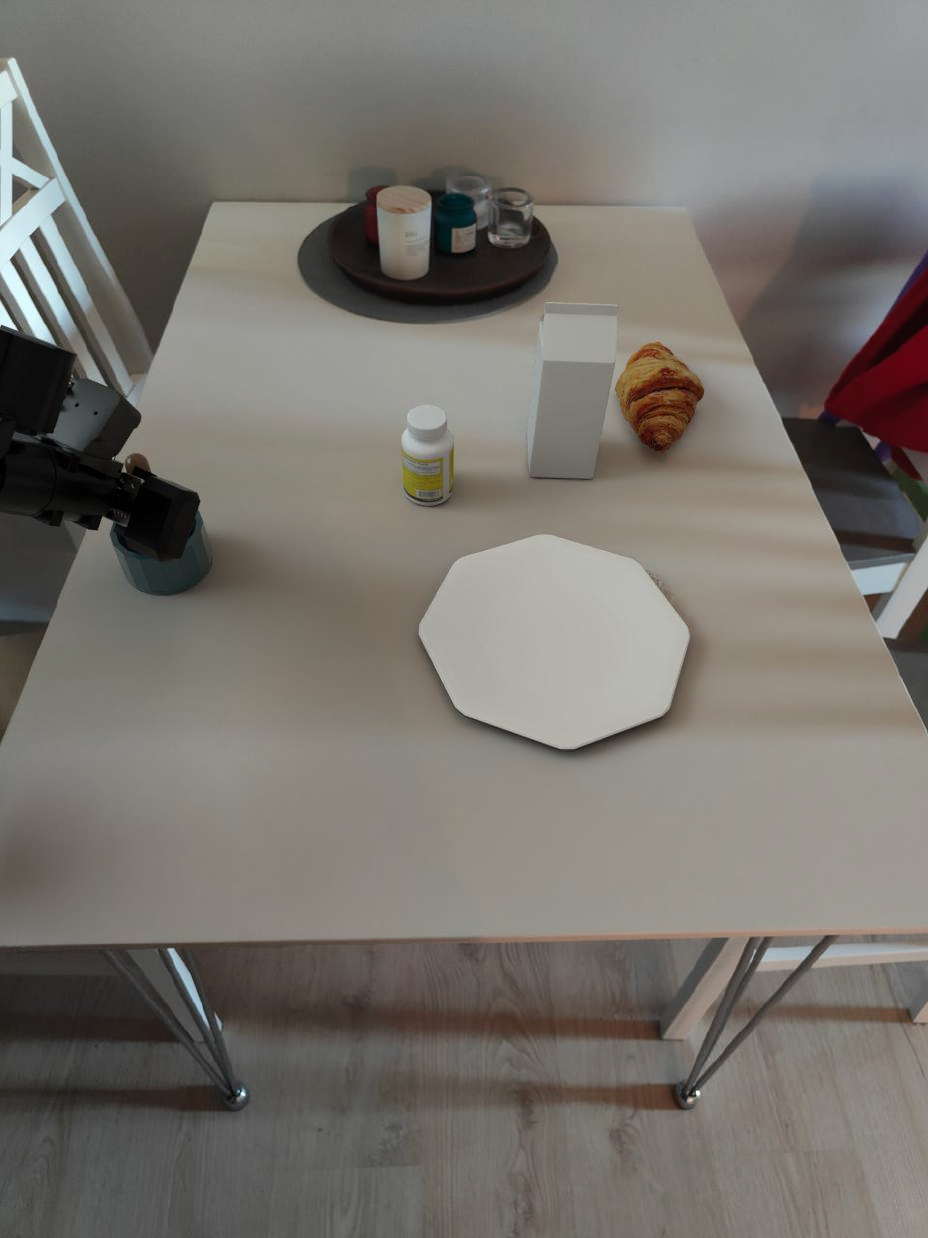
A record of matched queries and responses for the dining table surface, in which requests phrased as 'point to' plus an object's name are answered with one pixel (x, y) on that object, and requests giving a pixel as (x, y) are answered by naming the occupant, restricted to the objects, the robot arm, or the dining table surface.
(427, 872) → the dining table surface
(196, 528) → the teal faceted cup
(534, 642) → the plate
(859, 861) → the dining table surface
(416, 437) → the supplement bottle
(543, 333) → the milk carton
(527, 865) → the dining table surface
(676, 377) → the croissant
